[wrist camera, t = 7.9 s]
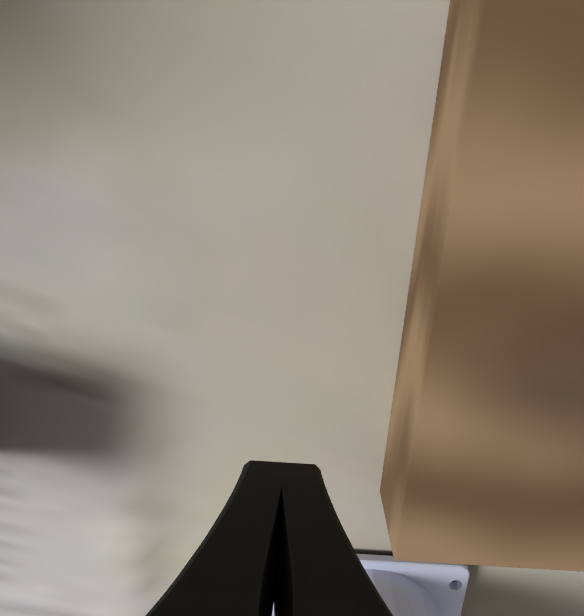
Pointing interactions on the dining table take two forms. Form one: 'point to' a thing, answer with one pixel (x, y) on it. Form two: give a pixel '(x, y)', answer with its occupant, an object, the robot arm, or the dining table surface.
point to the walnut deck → (496, 302)
